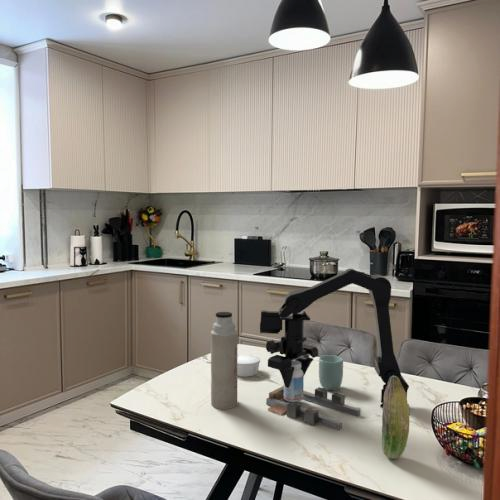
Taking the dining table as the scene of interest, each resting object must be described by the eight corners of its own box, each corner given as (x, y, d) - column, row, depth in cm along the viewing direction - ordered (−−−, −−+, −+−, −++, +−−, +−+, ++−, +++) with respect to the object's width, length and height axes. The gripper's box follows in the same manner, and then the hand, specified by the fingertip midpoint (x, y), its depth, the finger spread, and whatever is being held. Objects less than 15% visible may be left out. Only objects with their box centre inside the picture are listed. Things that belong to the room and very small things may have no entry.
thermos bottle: (239, 399, 141) (240, 310, 139) (233, 410, 134) (233, 316, 131) (215, 397, 143) (214, 309, 141) (207, 407, 135) (207, 315, 133)
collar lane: (365, 411, 133) (365, 400, 133) (333, 434, 119) (333, 421, 119) (294, 389, 149) (294, 379, 149) (259, 407, 136) (259, 395, 135)
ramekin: (224, 370, 168) (224, 356, 167) (251, 365, 172) (251, 352, 172) (236, 380, 157) (236, 365, 157) (265, 375, 162) (265, 361, 162)
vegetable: (408, 455, 109) (411, 374, 107) (406, 469, 103) (409, 383, 102) (382, 450, 112) (385, 371, 110) (379, 463, 106) (381, 379, 104)
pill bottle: (303, 395, 141) (303, 359, 140) (303, 403, 135) (304, 366, 134) (283, 394, 142) (283, 359, 141) (283, 402, 136) (283, 365, 135)
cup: (335, 394, 145) (336, 364, 144) (314, 388, 150) (314, 359, 149) (346, 387, 151) (347, 357, 151) (325, 381, 156) (326, 353, 155)
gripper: (290, 323, 149) (289, 370, 150) (253, 335, 135) (253, 386, 136) (319, 329, 142) (318, 378, 143) (283, 342, 128) (283, 396, 129)
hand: (293, 384), depth 138 cm, fingers closed on pill bottle, 6 cm apart
